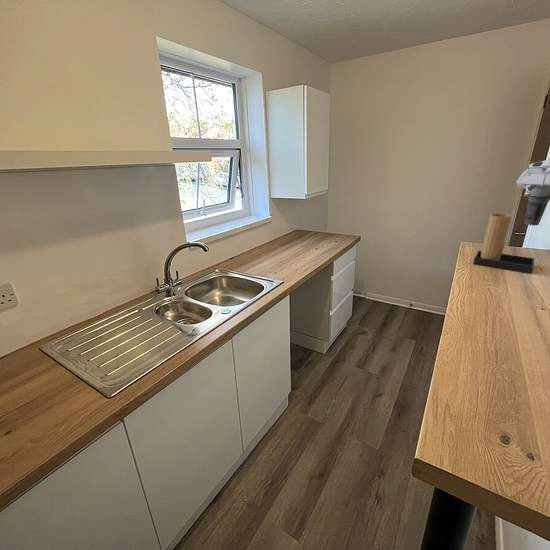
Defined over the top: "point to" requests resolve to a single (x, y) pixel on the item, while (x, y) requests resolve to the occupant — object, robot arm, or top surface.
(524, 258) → the tray
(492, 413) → the top surface
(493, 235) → the wooden cylinder
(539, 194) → the beverage cup
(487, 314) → the top surface
